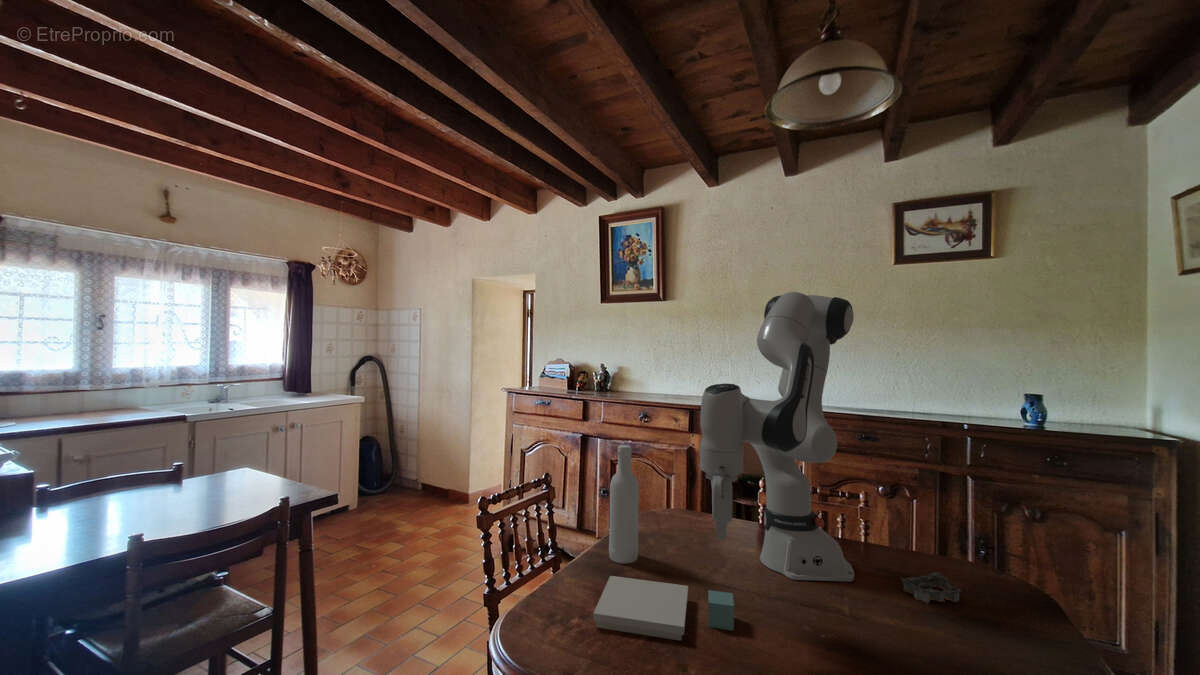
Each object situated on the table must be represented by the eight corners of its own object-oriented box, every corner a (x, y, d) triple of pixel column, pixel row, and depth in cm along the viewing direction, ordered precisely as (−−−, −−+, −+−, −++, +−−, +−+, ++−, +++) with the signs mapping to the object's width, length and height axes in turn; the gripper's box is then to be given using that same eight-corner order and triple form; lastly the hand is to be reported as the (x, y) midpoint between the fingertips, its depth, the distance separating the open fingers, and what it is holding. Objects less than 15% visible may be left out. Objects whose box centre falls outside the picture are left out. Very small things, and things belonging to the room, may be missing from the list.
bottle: (644, 557, 125) (645, 446, 126) (626, 567, 119) (627, 450, 120) (621, 548, 130) (622, 441, 131) (602, 557, 124) (604, 445, 125)
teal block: (732, 617, 97) (732, 593, 97) (733, 631, 92) (733, 605, 93) (708, 613, 99) (708, 590, 99) (708, 627, 94) (708, 602, 94)
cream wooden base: (688, 599, 104) (688, 585, 104) (684, 642, 88) (684, 626, 88) (610, 588, 108) (610, 575, 108) (593, 628, 93) (593, 613, 93)
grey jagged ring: (942, 589, 111) (942, 571, 111) (967, 606, 103) (966, 587, 103) (897, 587, 111) (897, 570, 111) (918, 604, 103) (918, 586, 104)
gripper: (740, 476, 86) (739, 551, 85) (734, 452, 106) (734, 513, 105) (705, 473, 87) (704, 547, 87) (706, 451, 107) (705, 511, 107)
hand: (720, 528), depth 96 cm, fingers open, 8 cm apart
